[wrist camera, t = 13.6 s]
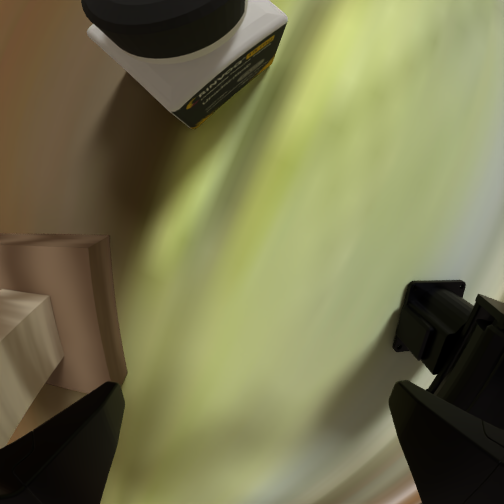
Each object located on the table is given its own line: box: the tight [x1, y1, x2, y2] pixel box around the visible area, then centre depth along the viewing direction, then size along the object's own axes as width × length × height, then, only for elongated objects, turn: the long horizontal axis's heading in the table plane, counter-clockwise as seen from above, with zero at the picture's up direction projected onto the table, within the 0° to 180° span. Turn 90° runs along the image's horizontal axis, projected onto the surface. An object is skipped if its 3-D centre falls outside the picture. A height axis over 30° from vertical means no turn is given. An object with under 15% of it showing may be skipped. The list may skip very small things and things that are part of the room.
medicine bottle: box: [81, 0, 288, 129], centre depth 11 cm, size 7×7×12 cm
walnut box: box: [0, 233, 128, 394], centre depth 20 cm, size 12×12×4 cm
